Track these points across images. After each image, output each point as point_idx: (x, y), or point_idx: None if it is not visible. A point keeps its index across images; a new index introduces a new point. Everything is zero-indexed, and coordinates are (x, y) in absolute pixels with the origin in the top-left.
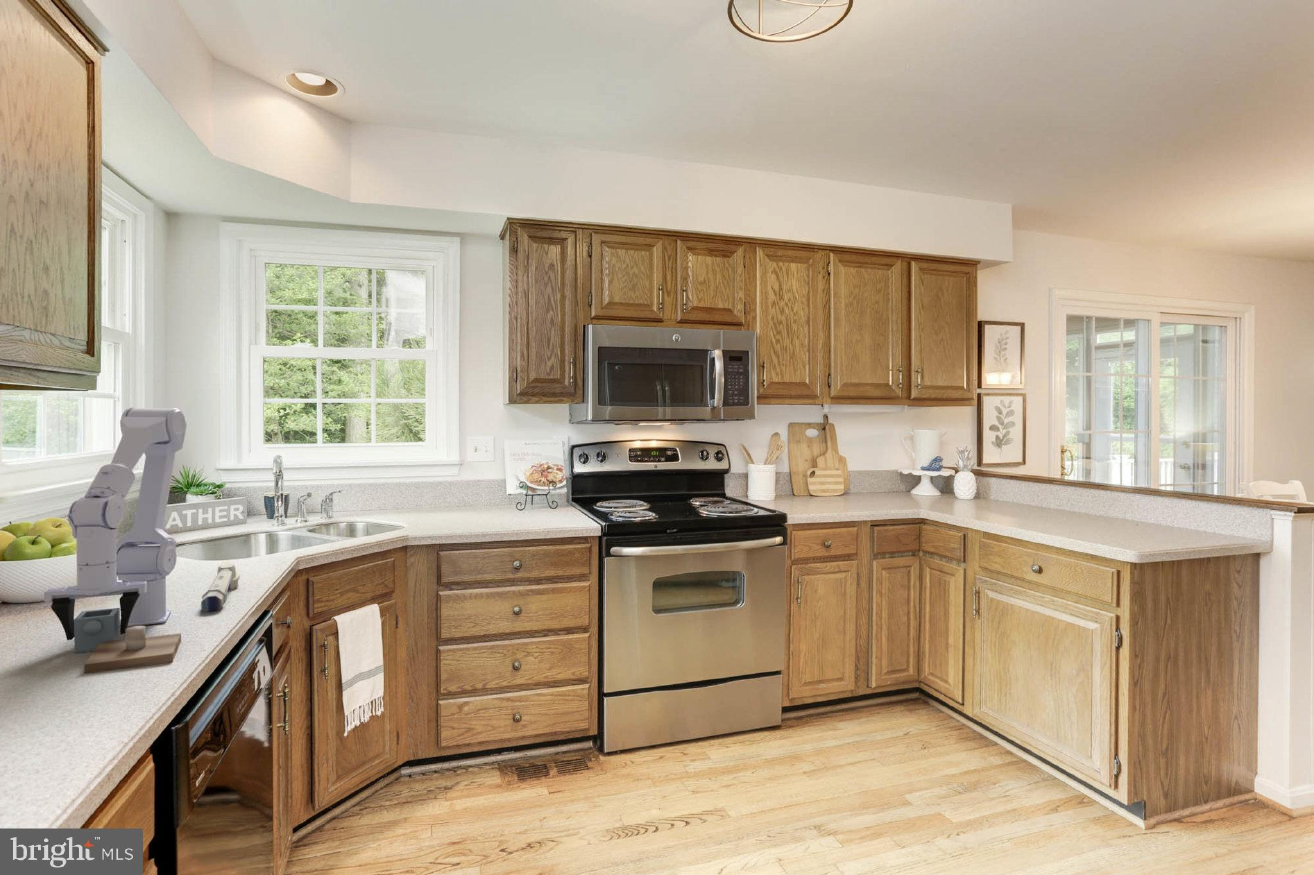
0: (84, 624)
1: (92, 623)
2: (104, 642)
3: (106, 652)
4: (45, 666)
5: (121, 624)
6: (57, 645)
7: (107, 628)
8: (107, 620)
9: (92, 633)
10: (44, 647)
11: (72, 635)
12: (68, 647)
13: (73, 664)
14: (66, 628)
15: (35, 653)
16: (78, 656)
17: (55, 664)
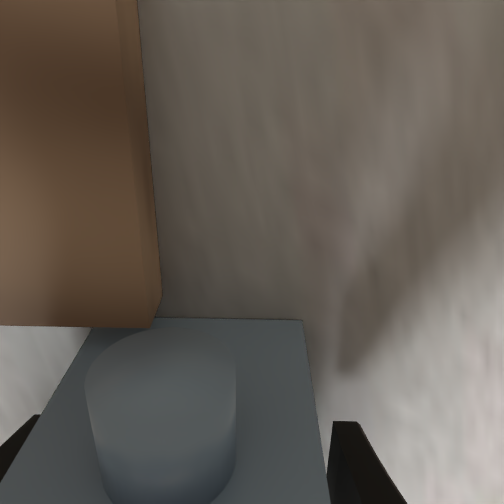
0: (244, 478)
1: (140, 415)
2: (122, 317)
3: (2, 7)
4: (439, 90)
5: (4, 472)
6: (400, 476)
7: (81, 421)
8: (50, 490)
9: (164, 337)
10: (454, 470)
11: (335, 459)
12: None
13: (263, 44)
14: (383, 493)
15: (493, 395)
16: (266, 236)
17: (380, 110)
